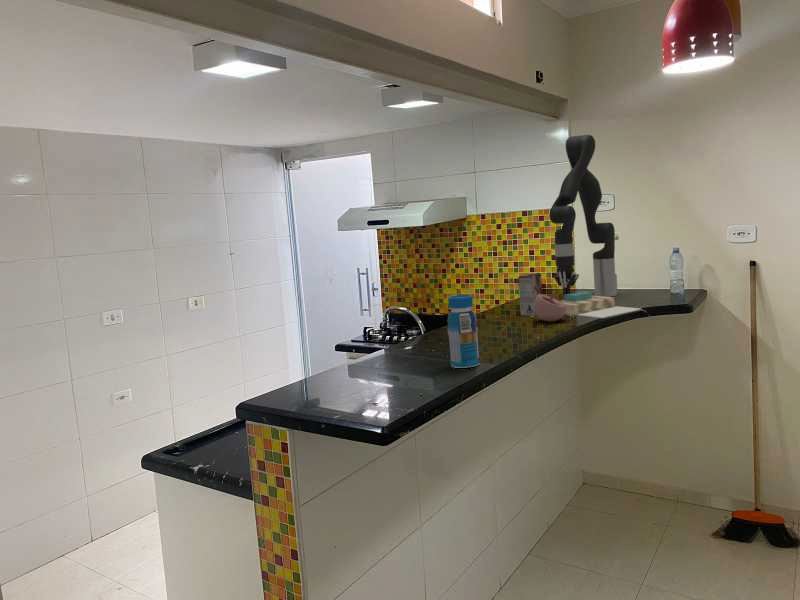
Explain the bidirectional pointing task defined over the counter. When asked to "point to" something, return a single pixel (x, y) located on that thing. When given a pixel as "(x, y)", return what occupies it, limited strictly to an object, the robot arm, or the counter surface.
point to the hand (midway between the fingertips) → (566, 296)
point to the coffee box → (529, 292)
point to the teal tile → (577, 296)
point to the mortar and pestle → (549, 307)
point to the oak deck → (588, 305)
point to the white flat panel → (609, 312)
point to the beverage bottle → (462, 332)
